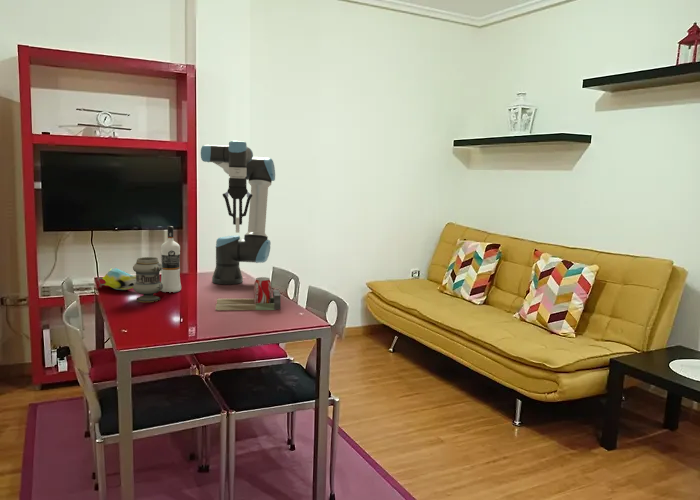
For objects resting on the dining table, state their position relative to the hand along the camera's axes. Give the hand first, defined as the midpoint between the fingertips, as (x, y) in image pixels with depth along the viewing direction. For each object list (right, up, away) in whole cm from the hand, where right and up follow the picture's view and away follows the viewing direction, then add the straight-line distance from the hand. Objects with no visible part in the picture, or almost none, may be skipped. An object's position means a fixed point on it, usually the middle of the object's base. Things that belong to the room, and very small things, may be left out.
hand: (237, 232), depth 246 cm
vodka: (-34, -27, +15) cm, 46 cm away
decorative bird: (-55, -26, +18) cm, 63 cm away
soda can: (+12, -32, -8) cm, 35 cm away
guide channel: (+6, -31, -9) cm, 33 cm away
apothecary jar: (-37, -29, -4) cm, 48 cm away
